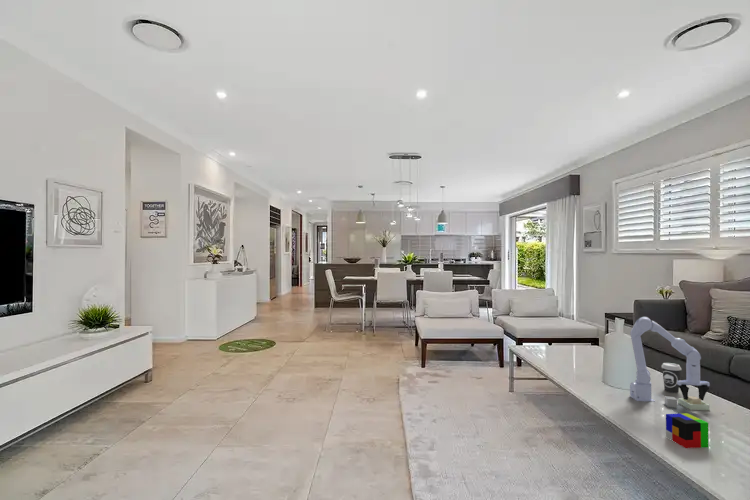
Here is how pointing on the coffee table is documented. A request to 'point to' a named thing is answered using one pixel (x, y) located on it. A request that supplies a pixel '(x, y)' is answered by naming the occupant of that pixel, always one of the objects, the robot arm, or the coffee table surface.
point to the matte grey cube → (670, 401)
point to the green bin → (693, 405)
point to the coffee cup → (671, 376)
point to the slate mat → (680, 410)
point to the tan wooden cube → (693, 400)
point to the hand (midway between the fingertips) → (693, 399)
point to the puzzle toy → (687, 430)
